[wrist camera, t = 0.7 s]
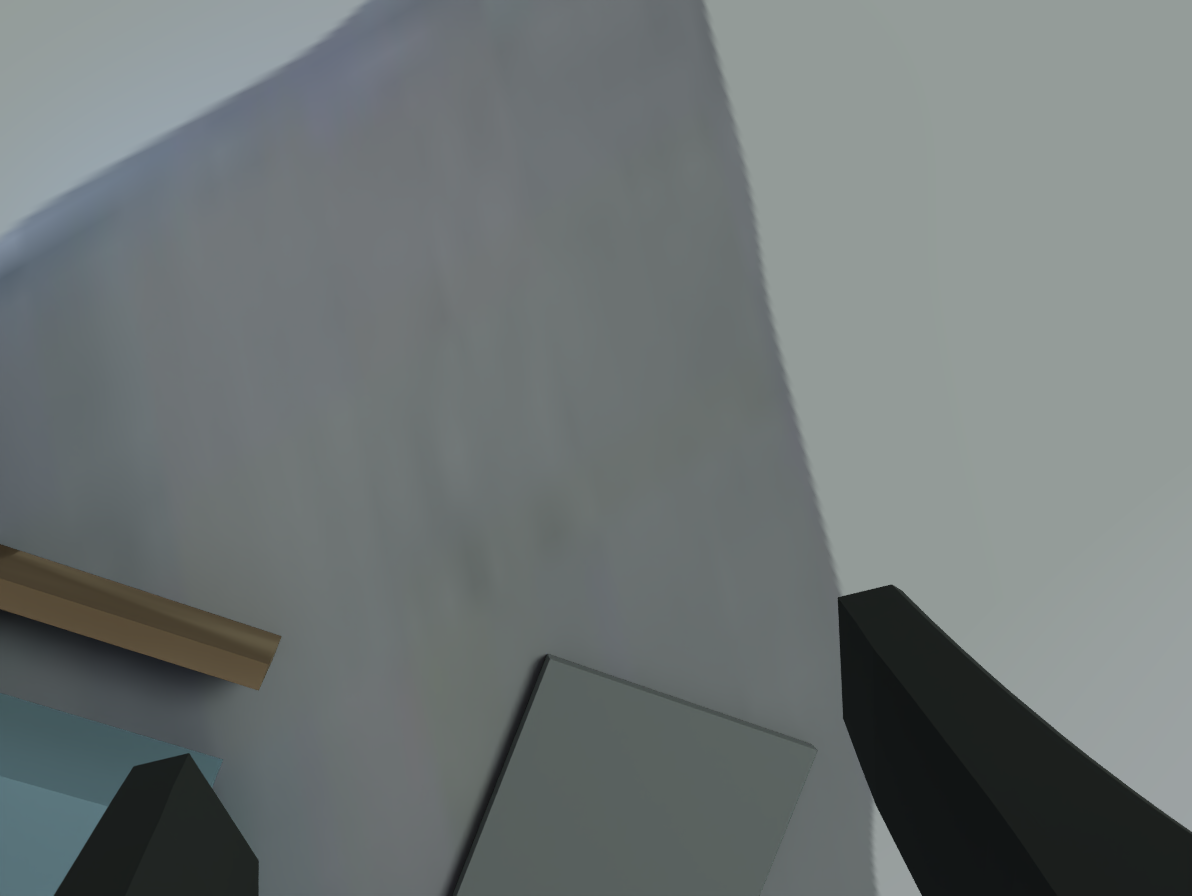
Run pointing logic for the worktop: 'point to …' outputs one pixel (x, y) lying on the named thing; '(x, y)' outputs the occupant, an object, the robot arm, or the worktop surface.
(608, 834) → the mat
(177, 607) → the arch frame
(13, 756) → the block
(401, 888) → the worktop surface
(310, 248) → the worktop surface
